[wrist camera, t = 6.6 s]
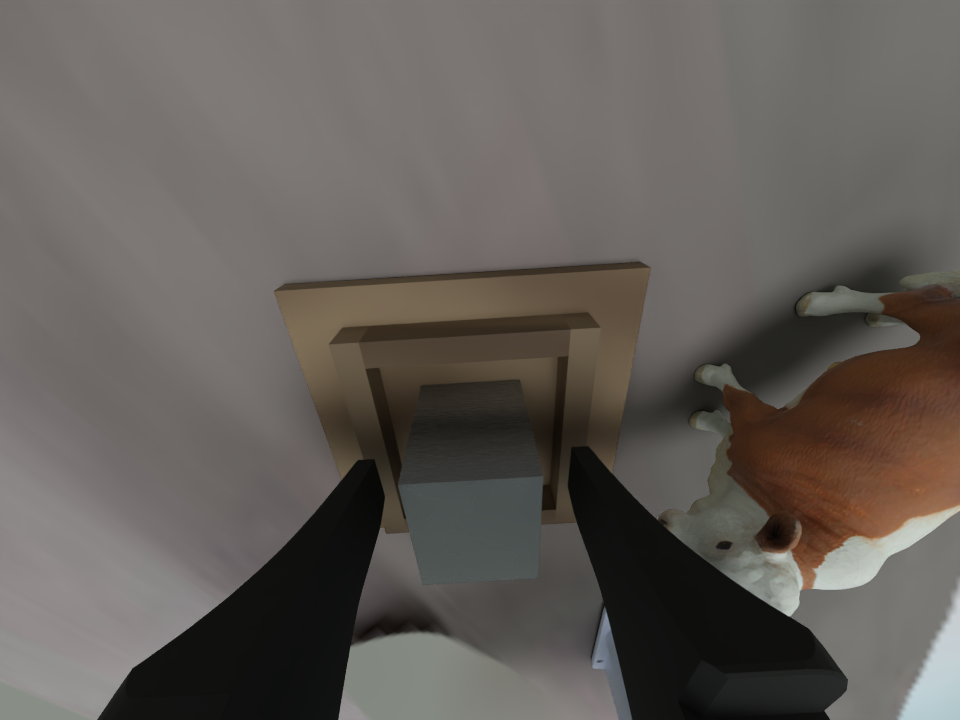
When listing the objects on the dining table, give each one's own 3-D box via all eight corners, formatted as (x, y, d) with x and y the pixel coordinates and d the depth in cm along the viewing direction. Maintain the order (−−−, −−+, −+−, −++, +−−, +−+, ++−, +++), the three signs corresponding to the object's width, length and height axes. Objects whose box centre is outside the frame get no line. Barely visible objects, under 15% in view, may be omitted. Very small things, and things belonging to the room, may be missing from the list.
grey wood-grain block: (519, 468, 16) (538, 578, 12) (435, 472, 16) (422, 584, 12) (519, 379, 14) (543, 476, 9) (420, 384, 14) (397, 485, 9)
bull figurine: (586, 412, 16) (684, 612, 9) (921, 218, 12) (1600, 288, 5) (628, 464, 17) (738, 668, 10) (932, 311, 14) (1443, 462, 6)
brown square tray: (599, 501, 19) (614, 539, 17) (363, 515, 19) (351, 554, 17) (640, 262, 12) (671, 278, 10) (284, 284, 12) (250, 304, 10)
